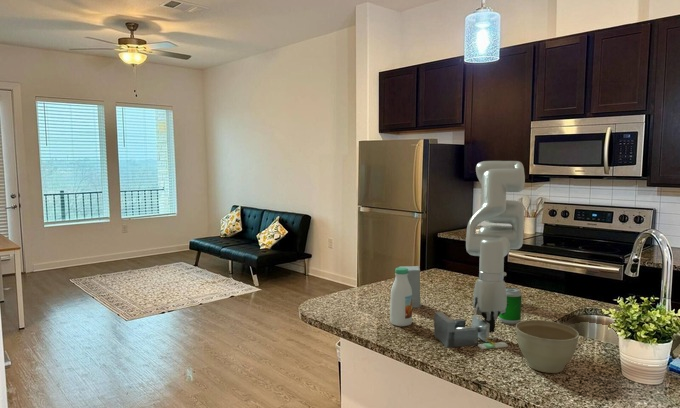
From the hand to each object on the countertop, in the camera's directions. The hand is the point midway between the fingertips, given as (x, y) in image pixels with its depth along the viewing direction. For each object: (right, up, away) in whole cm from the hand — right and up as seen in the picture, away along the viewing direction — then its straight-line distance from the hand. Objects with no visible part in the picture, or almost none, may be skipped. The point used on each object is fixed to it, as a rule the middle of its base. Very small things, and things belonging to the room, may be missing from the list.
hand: (489, 330), depth 151 cm
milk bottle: (-27, -1, +14) cm, 31 cm away
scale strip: (-1, -3, -7) cm, 8 cm away
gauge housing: (-12, -2, -2) cm, 12 cm away
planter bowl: (+9, -4, -21) cm, 23 cm away
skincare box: (-21, +1, +33) cm, 40 cm away
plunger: (-7, -2, -3) cm, 8 cm away
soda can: (+12, -1, +15) cm, 19 cm away
